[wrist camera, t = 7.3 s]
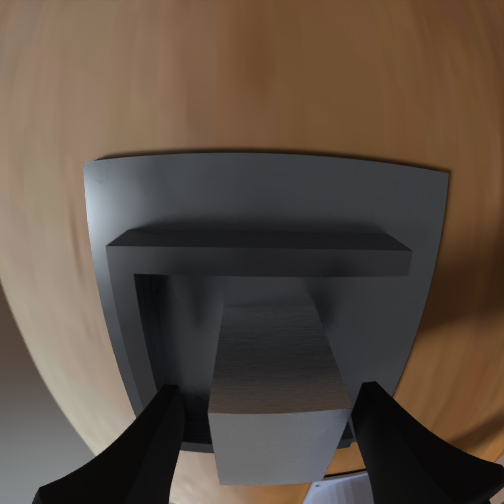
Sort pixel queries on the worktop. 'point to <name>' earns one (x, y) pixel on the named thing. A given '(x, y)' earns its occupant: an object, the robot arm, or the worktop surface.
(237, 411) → the block
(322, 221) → the cradle
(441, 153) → the worktop surface
